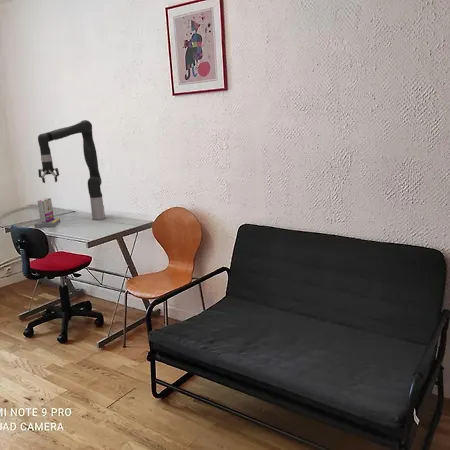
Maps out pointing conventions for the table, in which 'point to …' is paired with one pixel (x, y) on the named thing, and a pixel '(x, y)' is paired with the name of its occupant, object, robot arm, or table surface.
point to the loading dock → (48, 224)
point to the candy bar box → (45, 210)
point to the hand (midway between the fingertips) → (50, 182)
